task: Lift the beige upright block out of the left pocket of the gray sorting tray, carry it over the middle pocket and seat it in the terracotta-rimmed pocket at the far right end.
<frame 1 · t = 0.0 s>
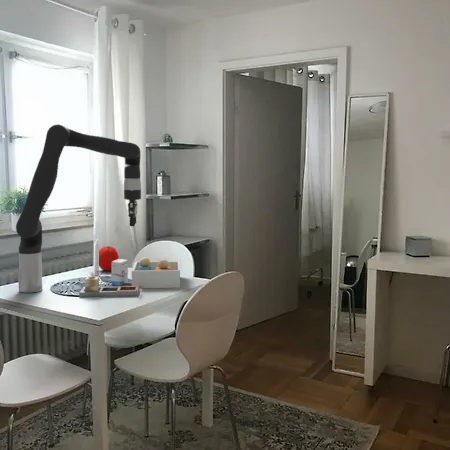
hand: (132, 225, 227), 29 cm above the table, fingers open, 8 cm apart
tomato: (107, 270, 271), on the table
wooden peg dolls: (157, 283, 245), resting in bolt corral
ink box: (119, 285, 238), on the table
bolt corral: (156, 282, 244), on the table
gray sorting tray: (110, 296, 218), on the table
beige upright block: (92, 294, 217), point 1 cm above the table, touching gray sorting tray
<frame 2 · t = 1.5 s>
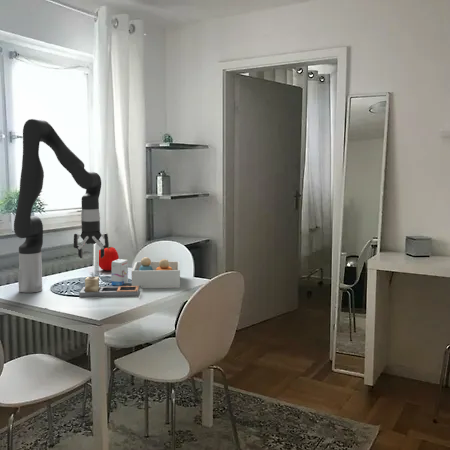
hand: (91, 257, 215), 17 cm above the table, fingers open, 8 cm apart
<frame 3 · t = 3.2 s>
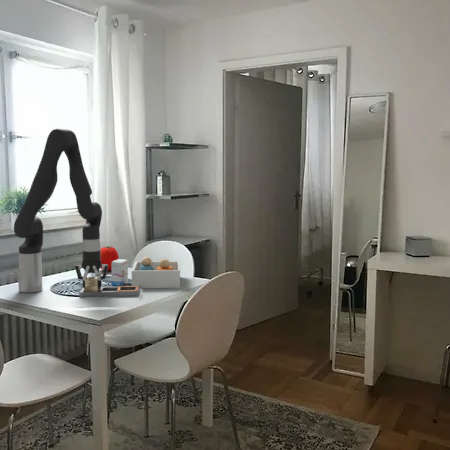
hand: (92, 288, 217), 3 cm above the table, fingers closed on beige upright block, 5 cm apart
beige upright block: (92, 294, 217), point 1 cm above the table, touching gripper, gray sorting tray
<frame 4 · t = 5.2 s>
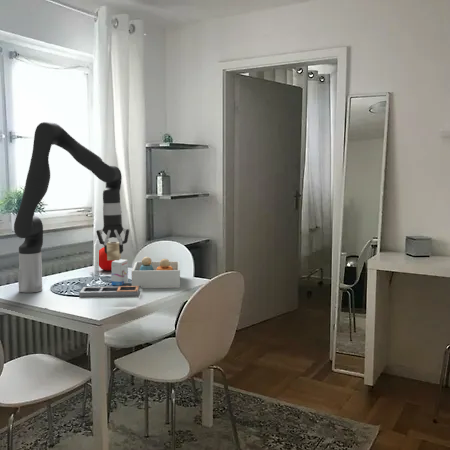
hand: (114, 253, 215), 19 cm above the table, fingers closed on beige upright block, 5 cm apart
beige upright block: (114, 259, 215), point 16 cm above the table, touching gripper
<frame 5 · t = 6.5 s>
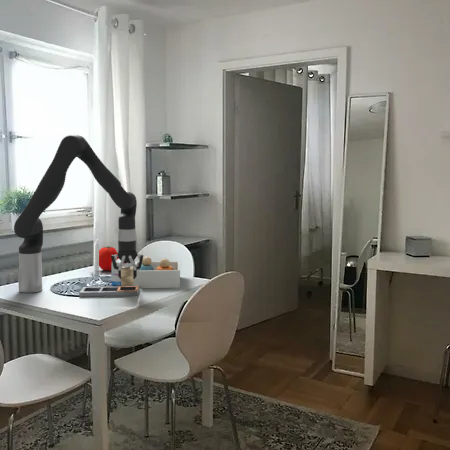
hand: (127, 278, 218), 8 cm above the table, fingers closed on beige upright block, 5 cm apart
beige upright block: (127, 283, 218), point 5 cm above the table, touching gripper
when the fingers open (5 cm above the table, at t = 7.5 s): beige upright block drops 1 cm, resting on gray sorting tray.
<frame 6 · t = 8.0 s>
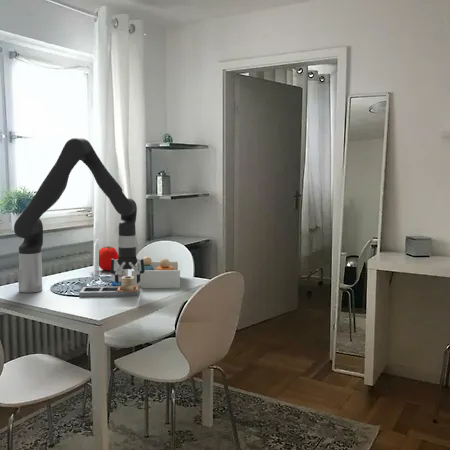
hand: (127, 282, 218), 6 cm above the table, fingers open, 8 cm apart
beige upright block: (128, 293, 218), point 1 cm above the table, touching gray sorting tray
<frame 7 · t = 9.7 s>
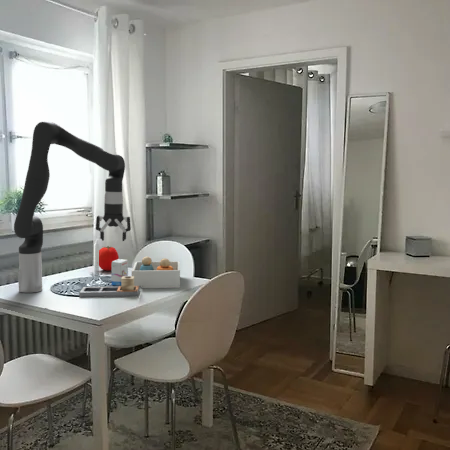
hand: (113, 240, 215), 24 cm above the table, fingers open, 8 cm apart
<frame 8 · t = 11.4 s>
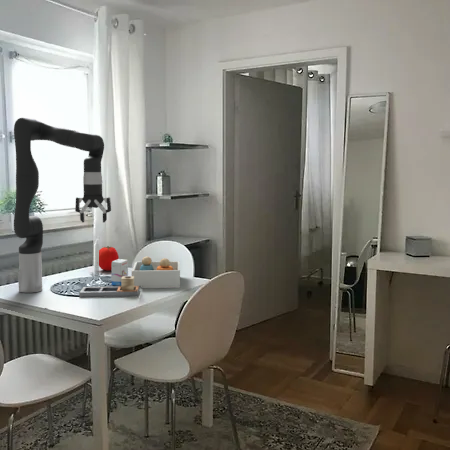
hand: (93, 222, 212), 32 cm above the table, fingers open, 8 cm apart
at the end: beige upright block 0.0 cm from the target spot on the gray sorting tray, point 1.0 cm above the gray sorting tray's base; beige upright block tilted 0°; the gripper is holding nothing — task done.
